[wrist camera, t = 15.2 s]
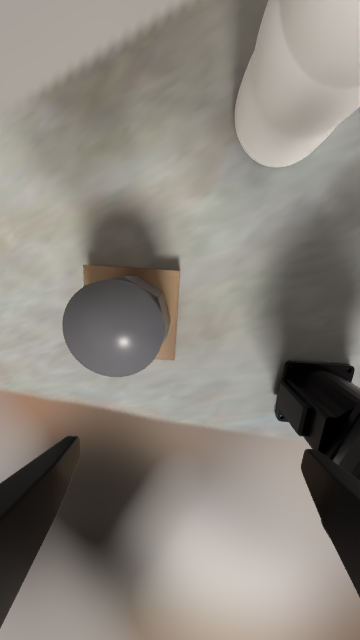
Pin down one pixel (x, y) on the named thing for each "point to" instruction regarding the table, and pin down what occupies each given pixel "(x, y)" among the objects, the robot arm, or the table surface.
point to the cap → (116, 325)
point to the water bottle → (299, 79)
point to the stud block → (157, 278)
